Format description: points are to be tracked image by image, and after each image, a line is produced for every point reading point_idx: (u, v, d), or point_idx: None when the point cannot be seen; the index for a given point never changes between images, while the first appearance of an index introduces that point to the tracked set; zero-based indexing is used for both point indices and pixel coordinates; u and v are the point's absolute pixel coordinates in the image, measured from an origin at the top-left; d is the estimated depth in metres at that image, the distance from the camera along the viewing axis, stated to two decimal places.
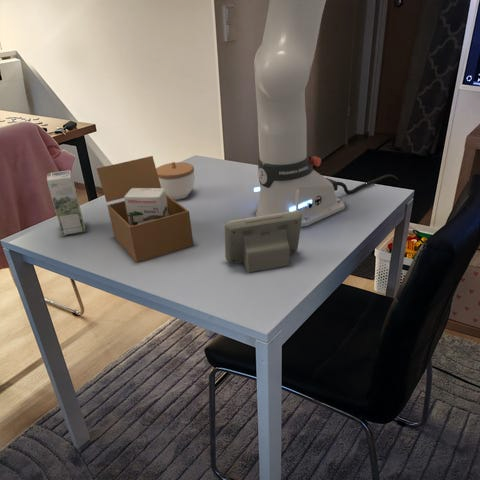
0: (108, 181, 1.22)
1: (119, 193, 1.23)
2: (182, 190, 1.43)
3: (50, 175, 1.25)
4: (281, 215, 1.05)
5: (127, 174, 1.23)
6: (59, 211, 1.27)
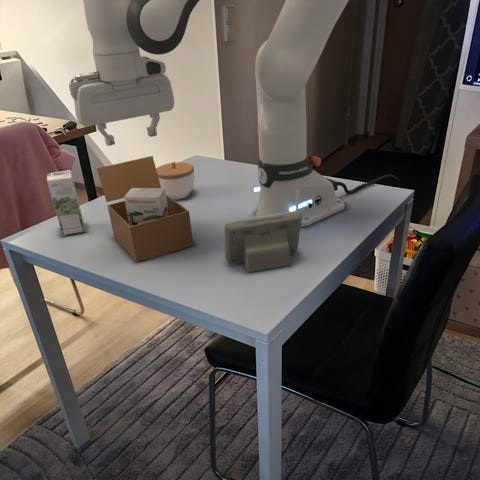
0: (108, 181, 1.22)
1: (119, 193, 1.23)
2: (182, 190, 1.43)
3: (50, 175, 1.25)
4: (281, 215, 1.05)
5: (127, 174, 1.23)
6: (59, 211, 1.27)
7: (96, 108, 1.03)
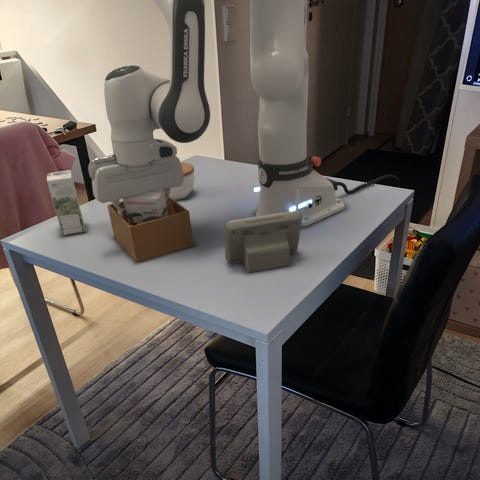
0: None
1: None
2: (182, 190, 1.43)
3: (50, 175, 1.25)
4: (281, 215, 1.05)
5: None
6: (59, 211, 1.27)
7: (112, 187, 1.12)
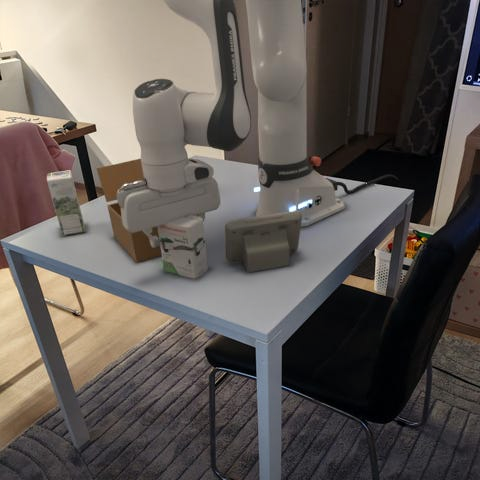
0: (108, 181, 1.22)
1: None
2: None
3: (50, 175, 1.25)
4: (281, 215, 1.05)
5: (127, 174, 1.23)
6: (59, 211, 1.27)
7: (143, 215, 1.01)
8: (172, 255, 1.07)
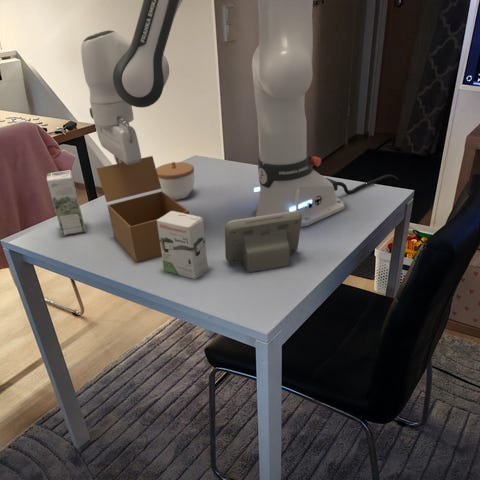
0: (108, 181, 1.22)
1: (119, 193, 1.23)
2: (182, 190, 1.43)
3: (50, 175, 1.25)
4: (281, 215, 1.05)
5: (127, 174, 1.23)
6: (59, 211, 1.27)
7: None
8: (172, 255, 1.07)
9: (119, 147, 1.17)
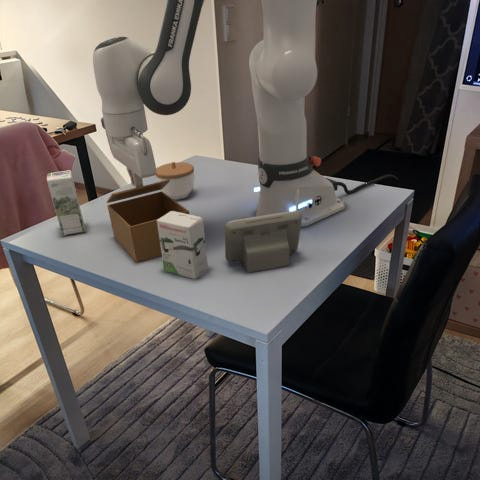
0: (118, 196, 1.19)
1: (122, 198, 1.23)
2: (182, 190, 1.43)
3: (50, 175, 1.25)
4: (281, 215, 1.05)
5: (138, 191, 1.20)
6: (59, 211, 1.27)
7: None
8: (172, 255, 1.07)
9: (133, 159, 1.11)
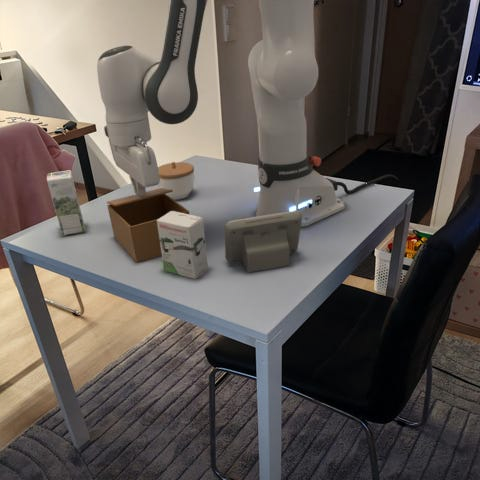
0: None
1: None
2: (182, 190, 1.43)
3: (50, 175, 1.25)
4: (281, 215, 1.05)
5: None
6: (59, 211, 1.27)
7: None
8: (172, 255, 1.07)
9: (136, 168, 1.10)
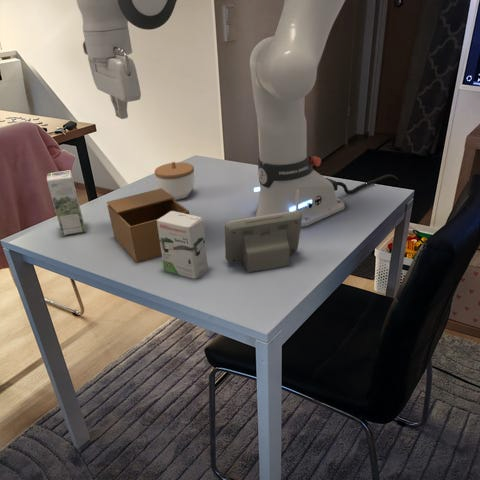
0: None
1: None
2: (182, 190, 1.43)
3: (50, 175, 1.25)
4: (281, 215, 1.05)
5: None
6: (59, 211, 1.27)
7: None
8: (172, 255, 1.07)
9: (116, 82, 1.04)
